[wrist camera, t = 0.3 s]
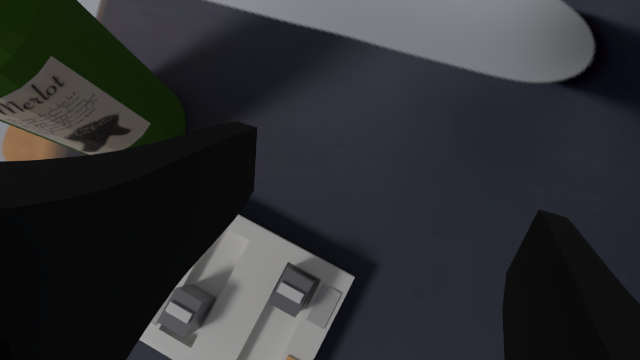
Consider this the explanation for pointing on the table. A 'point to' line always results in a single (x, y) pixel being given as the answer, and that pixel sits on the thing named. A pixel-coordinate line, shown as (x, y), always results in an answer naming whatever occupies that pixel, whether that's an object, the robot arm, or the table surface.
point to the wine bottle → (78, 81)
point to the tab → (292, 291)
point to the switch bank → (254, 300)
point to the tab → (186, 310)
